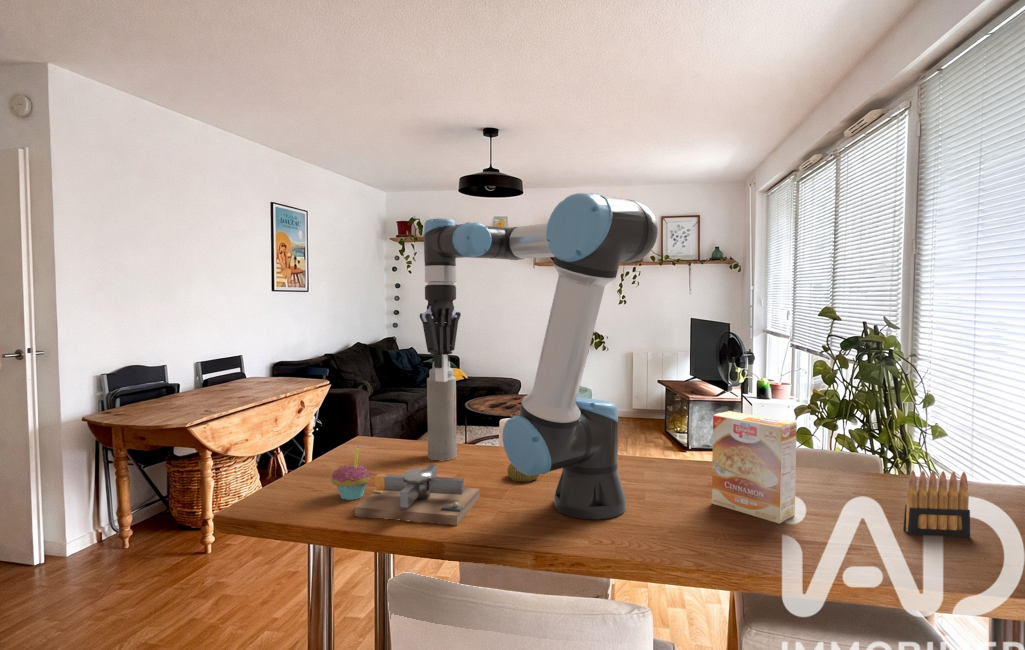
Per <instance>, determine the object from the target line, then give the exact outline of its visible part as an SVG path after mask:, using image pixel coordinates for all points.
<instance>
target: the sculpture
mask: <svg viewBox="0 0 1025 650" xmlns="http://www.w3.org/2000/svg"><path fill="white" fill-rule="evenodd" d="M507 475H508V477H509V478H510V479H511V480H512V481H515V482H518V481H519V482H520V481H521V482H520V483H527V482H532V481H534V480H536V479H538V478H539V475H540V474H538V475H533V476H530V475H525V474H523V473H521V472H519V471H518V470H517V469H516V468H515V467H514V466H513V465H512V463H511V462H510V463H509V465H508V467H507ZM522 481H523V482H522ZM526 481H527V482H526Z"/></svg>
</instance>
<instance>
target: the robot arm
mask: <svg viewBox="0 0 1025 650" xmlns="http://www.w3.org/2000/svg"><path fill="white" fill-rule="evenodd" d="M657 222H658V221H657V220H656V217H655V215H654V214H653V212H652V211H651V210H650V209H649V207H648V206H646V205H645V204H642V203H641V202H639V201H636V200H632V199H625V198H619V197H614V196H609V195H603V194H599V193H593V192H589V193H587V192H581V193H580V192H577V193H572V194H569V195H568V196H566V197H565V198H564V199H563V200H561V201H559V202H558V203H557V205H556V206H555V207H554V209H553V211H552V212H551V214H550V216H549V218H548V221H547V223H540V224H532V225H531V224H529V225H523V226H513V227H511V226H510V227H499V226H490V225H489V226H488V225H484V224H483V223H481V222H470V221H469V222H468V221H467V222H465V223H462V224H456V222H455V220H454V219H452V218H451V219H450V218H443V217H442V218H439V217H438V218H429V219H427V220H426V221H425V222H424V225H423V227H424V231H423V236H422V237H423V256H424V282H425V283H426V284H427V285H425V286H424V299H425V300H426V301H427V305H426V310H425V312H424V313H419V319H420V320H421V323H422V328H423V333H424V338H425V345H426V349H427V353H429V354H430V355H433V358H434V367H435V381H439V382H446V381H448V365H449V363H448V358H449V355H452V354H453V351H455V348H456V347H455V346H456V340H457V332H458V324H459V320H460V318H461V315H462V314H461V312H460V311H456V310H455V306H454V301H456V299H457V286H456V285H455V283H456V282H457V263H456V260H457V259H459V258H470V259H471V258H472V259H474V258H475V259H490V260H491V259H494V260H495V259H497V260H498V259H499V260H510V261H519V260H525V259H539V258H542V259H543V258H553V261H552V265H553V267H554V269H555V270H556V272H557V275H558V277H557V281H556V285H555V290H554V294H553V299H552V303H551V308H550V313H549V317H548V320H547V325H546V329H545V334H544V338H543V342H542V343H543V344H542V346H541V352H540V356H539V360H538V365H537V370H536V374H535V378H534V382H533V387H532V391H531V392H530V393H528V394H526V395H525V396H524V397H523V398H522V401H521V403H520V409H519V412H518V415H513V416H511V417H510V418H509V419H507V420H506V421H505V423H504V426H503V427H502V437H501V438H502V445H503V449H504V452H505V453H506V456H507V458H508V460H509V462H510V464H511V463H512V465H513V466H514V467H515V468H516V469H517V472H518V471H519V472H521V473H523V474H525V475H530V476H533V475H538V474H539V475H546V474H548V473H549V472H552V471H557V470H560V469H562V471H561V474H560V477H559V479H558V482H557V485H556V486H557V487H556V488H555V493H554V497H553V499H554V501H553V503H554V505H553V506H554V508H555V510H557V511H558V512H559V513H561V514H562V515H565V516H569V517H572V518H577V519H582V520H583V519H585V520H605V519H610V518H615V517H618V516H620V515H622V514H624V513H625V511H626V509H627V497H626V494H625V491H624V488H623V485H622V481H621V478H620V474H619V472H618V469H619V467H618V466H619V465H618V463H619V462H618V459H619V458H618V457H619V454H618V453H619V451H618V450H619V444H618V443H619V422H620V421H619V418H618V414H619V413H618V408H617V406H616V404H615V403H613V402H611V401H608V400H602V399H595V398H590V397H589V398H588V397H587V398H586V397H578V395H579V390H580V387H581V383H582V379H583V374H584V370H585V367H586V363H587V358H588V354H589V351H590V348H591V344H592V340H593V339H592V338H593V336H594V331H595V328H596V325H597V324H596V322H597V320H598V315H599V311H600V307H601V303H602V300H603V296H604V293H605V287H606V286H607V285H608V284H609V283H611V282H612V281H614V280H616V278H617V276H618V271H619V268H620V264H629V263H634V262H637V261H640V260H641V259H643V258H646V256H647V255H649V253H650V252H651V251H652V250H653V248H654V247H655V244H656V242H657V239H658V235H659V232H658V231H659V228H658V223H657ZM516 469H515V470H516Z"/></svg>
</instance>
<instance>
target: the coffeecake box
mask: <svg viewBox="0 0 1025 650" xmlns="http://www.w3.org/2000/svg"><path fill="white" fill-rule="evenodd" d="M797 426H798V425H797V421H790V420H787V419H786V420H785V419H779V418H774V417H773V418H772V417H767V416H761V415H755V414H749V413H744V412H743V413H742V412H738V411H730V410H729V411H728V410H727V411H725V412H719V413H715V414H712V457H711V458H712V461H711V462H712V463H711V464H712V467H711V469H712V470H711V471H712V472H711V473H712V474H711V504H713V505H715V506H719V507H723V508H726V509H729V510H733V511H736V512H738V513H743V514H746V515H750V516H752V517H757V518H759V519H762V520H765V521H769V522H773V523H775V524H779V525H780V524H782V523H783V522H785V521H787V520H788V519H791V518H792V517H795V515H796V513H795V512H796V507H795V506H796V472H797V471H796V470H797V468H796V466H797V464H796V463H797Z"/></svg>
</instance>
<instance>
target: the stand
mask: <svg viewBox="0 0 1025 650" xmlns="http://www.w3.org/2000/svg"><path fill="white" fill-rule="evenodd" d="M400 492H401V491H378V490H376V489H373V490H372V491H371V493H372V494H371V495H369V496H368V497H367V498H365V499H363V500H362V501H361V502H359V503H358V504H357V505H356V506H354V517H355V516H357V517H356V518H365V517H368V519H376V518H386V519H385V520H388V519H400V520H410V521H420V522H419V523H422V522H430V523H429V524H433V523H440V524H439V525H445V524H451V525H450V526H456V525H457V526H458V525H459V524H460V523H461V521H462V520H463V519H464V518H465V516H467V514H468V513H469V511H471V510H472V508H473V506H474V505H475V504H476V503H477V501H478V500H479V499H480V493H481V492H480V488H475V487H474V488H471V487H464V493H463V494H462V495H457V494H438V493H430V496H429V497H428V498H425V499H416V500H415V501H414V502H413V503H412V504H411V505H410V506H409V507H400ZM369 517H370V518H369ZM410 521H409V522H410ZM459 522H460V523H459Z"/></svg>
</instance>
